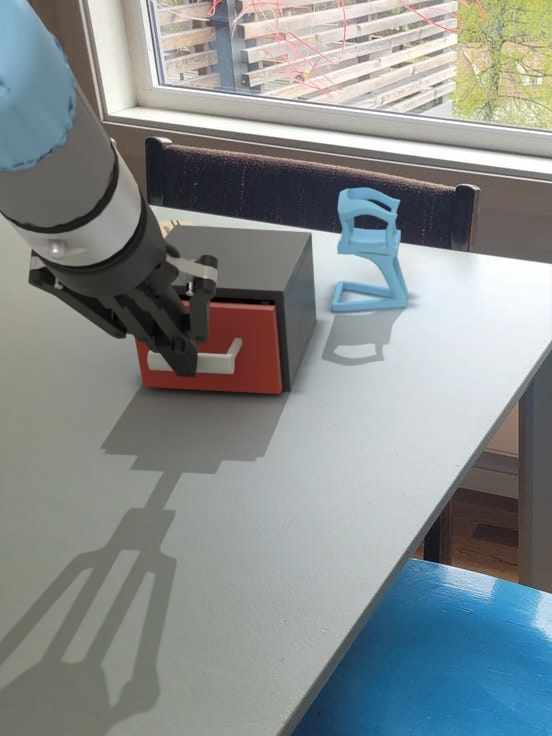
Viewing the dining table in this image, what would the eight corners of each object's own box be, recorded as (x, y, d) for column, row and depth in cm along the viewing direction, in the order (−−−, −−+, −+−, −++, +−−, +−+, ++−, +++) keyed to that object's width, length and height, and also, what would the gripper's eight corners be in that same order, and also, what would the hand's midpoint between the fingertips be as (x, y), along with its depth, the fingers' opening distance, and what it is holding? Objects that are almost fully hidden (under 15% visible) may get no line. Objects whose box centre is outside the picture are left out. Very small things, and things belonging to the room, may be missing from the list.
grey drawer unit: (291, 394, 94) (283, 291, 88) (144, 386, 94) (126, 282, 88) (316, 326, 107) (311, 232, 101) (188, 319, 107) (175, 224, 101)
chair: (406, 316, 110) (406, 203, 103) (331, 313, 110) (325, 199, 102) (409, 291, 116) (409, 182, 109) (338, 288, 116) (333, 178, 108)
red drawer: (268, 423, 87) (260, 336, 82) (124, 415, 87) (107, 328, 82) (306, 329, 104) (301, 252, 99) (185, 322, 104) (174, 244, 99)
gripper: (-33, 265, 60) (106, 400, 83) (185, 278, 60) (262, 409, 83) (-21, 148, 60) (114, 314, 84) (195, 160, 61) (269, 323, 84)
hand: (188, 361), depth 83 cm, fingers closed
